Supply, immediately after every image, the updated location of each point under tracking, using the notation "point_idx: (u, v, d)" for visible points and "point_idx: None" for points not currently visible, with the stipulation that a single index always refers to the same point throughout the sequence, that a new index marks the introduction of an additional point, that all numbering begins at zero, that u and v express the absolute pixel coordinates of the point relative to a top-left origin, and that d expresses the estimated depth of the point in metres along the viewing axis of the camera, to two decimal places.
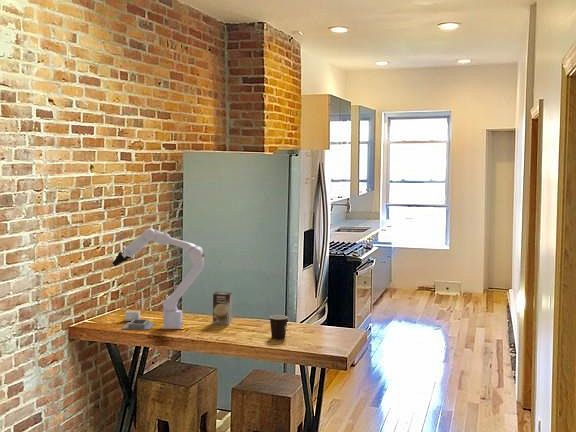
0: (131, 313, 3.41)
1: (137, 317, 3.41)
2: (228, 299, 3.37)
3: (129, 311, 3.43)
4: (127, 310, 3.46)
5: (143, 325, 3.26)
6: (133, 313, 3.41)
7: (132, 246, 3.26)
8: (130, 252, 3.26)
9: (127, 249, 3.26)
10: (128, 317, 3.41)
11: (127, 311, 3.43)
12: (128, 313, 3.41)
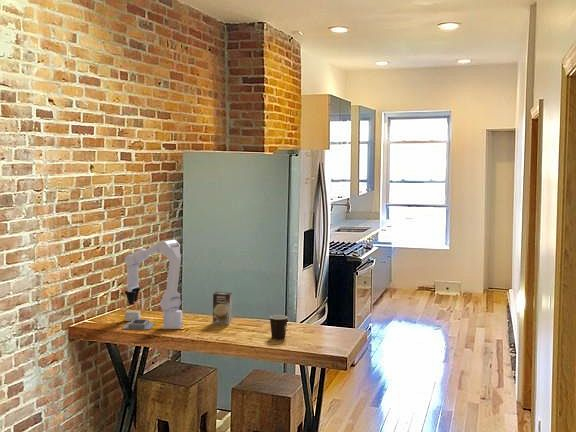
0: (131, 313, 3.41)
1: (137, 317, 3.41)
2: (228, 299, 3.37)
3: (129, 311, 3.43)
4: (127, 310, 3.46)
5: (143, 325, 3.26)
6: (133, 313, 3.41)
7: (129, 279, 3.39)
8: (133, 284, 3.40)
9: (129, 285, 3.40)
10: (128, 317, 3.41)
11: (127, 311, 3.43)
12: (128, 313, 3.41)
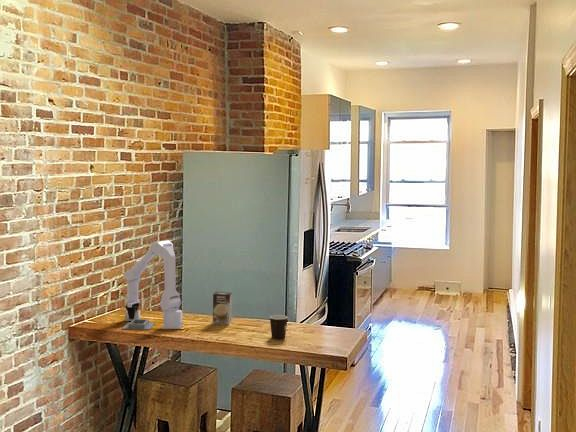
0: None
1: (137, 317, 3.41)
2: (228, 299, 3.37)
3: None
4: None
5: (143, 325, 3.26)
6: None
7: (129, 294, 3.40)
8: (133, 300, 3.40)
9: (129, 300, 3.40)
10: (128, 317, 3.41)
11: (127, 311, 3.43)
12: None
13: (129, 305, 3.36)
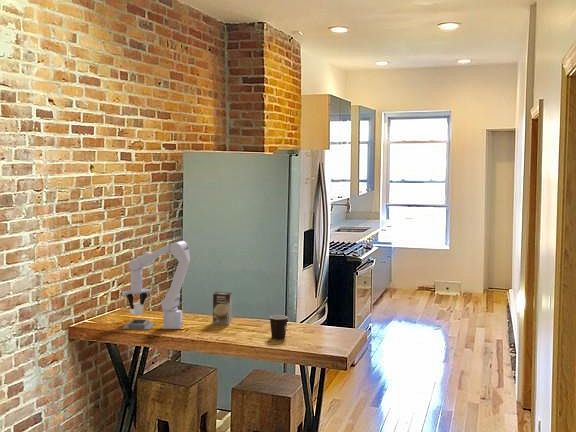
0: None
1: (134, 310, 3.32)
2: (228, 299, 3.37)
3: (135, 303, 3.37)
4: (138, 302, 3.40)
5: (143, 325, 3.26)
6: None
7: None
8: (131, 289, 3.33)
9: None
10: None
11: None
12: None
13: (122, 293, 3.32)
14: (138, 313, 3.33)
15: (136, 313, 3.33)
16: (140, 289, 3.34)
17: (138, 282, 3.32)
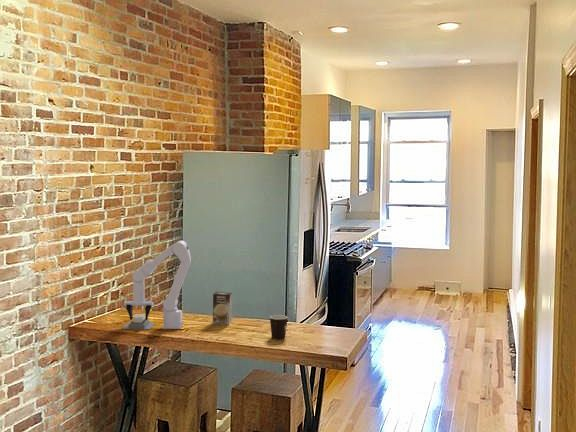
0: None
1: None
2: (228, 299, 3.37)
3: (139, 314, 3.33)
4: (144, 314, 3.35)
5: (143, 325, 3.26)
6: None
7: None
8: (133, 300, 3.30)
9: None
10: None
11: (139, 314, 3.34)
12: None
13: None
14: None
15: None
16: (140, 301, 3.28)
17: (137, 294, 3.28)
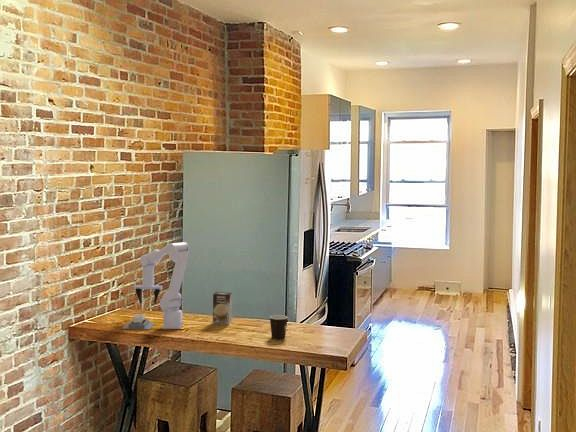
0: None
1: None
2: (228, 299, 3.37)
3: (139, 314, 3.33)
4: (144, 314, 3.35)
5: (143, 325, 3.26)
6: None
7: None
8: None
9: None
10: None
11: (139, 314, 3.34)
12: None
13: None
14: None
15: None
16: (149, 285, 3.40)
17: (147, 278, 3.39)
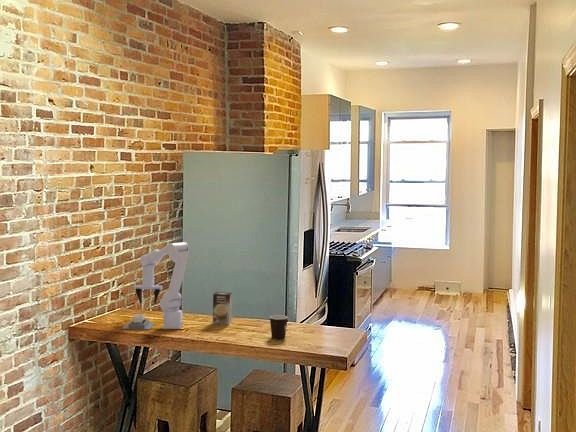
0: None
1: None
2: (228, 299, 3.37)
3: (139, 314, 3.33)
4: (144, 314, 3.35)
5: (143, 325, 3.26)
6: None
7: None
8: None
9: None
10: None
11: (139, 314, 3.34)
12: None
13: None
14: None
15: None
16: (149, 285, 3.40)
17: (147, 278, 3.39)
